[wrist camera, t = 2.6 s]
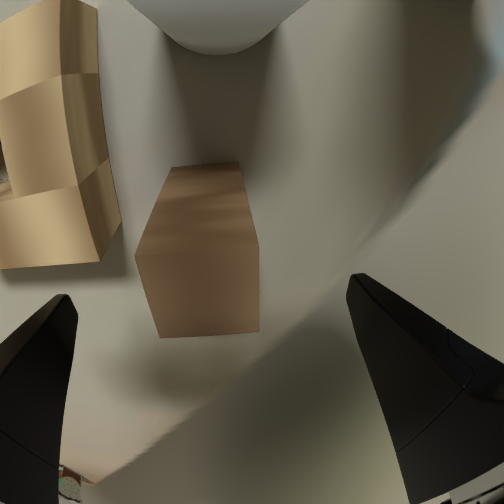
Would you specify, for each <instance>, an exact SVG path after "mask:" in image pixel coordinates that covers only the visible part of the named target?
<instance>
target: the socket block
mask: <svg viewBox="0 0 504 504" xmlns="http://www.w3.org/2000/svg"><path fill="white" fill-rule="evenodd" d="M0 140H1V145H2V150H3V155H4V159H5V164H6V168H7V172H8V176H9V180H10V181H7V182H4V183H0V269H11V268H23V267H36V266H49V265H62V264H74V263H87V262H100V260H101V258H102V256H103V254H104V253H105V251H106V249H107V247H108V245H109V243H110V241H111V239H112V237H113V235H114V233H115V232H116V230H117V228H118V226H119V224H120V223H121V221H122V220H121V216H120V211H119V207H118V202H117V198H116V193H115V188H114V183H113V178H112V173H111V167H110V162H109V156H108V150H107V143H106V137H105V130H104V122H103V114H102V105H101V96H100V85H99V72H98V54H97V8H94V7H92V6H90V5H88V4H86V3H84V2H81V1H79V0H43V1H41V2H39V3H37V4H35V5H33V6H31V7H29V8H27V9H25V10H23V11H21V12H19V13H17V14H16V15H14V16H12V17H10V18H8V19H7V20H5V21H3V22H2V23H0Z"/></svg>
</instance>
